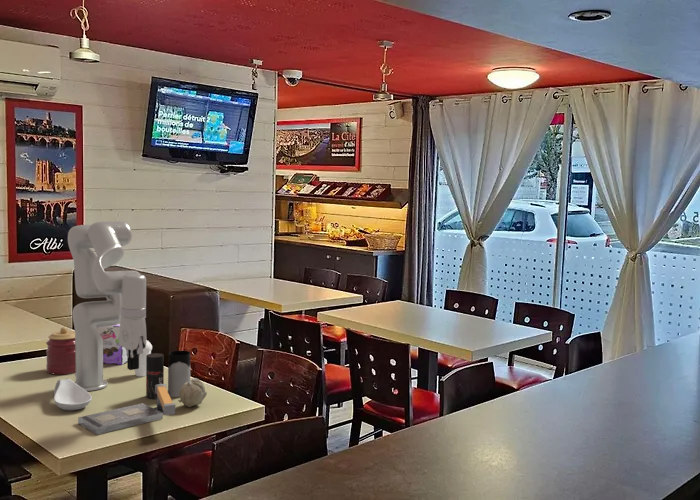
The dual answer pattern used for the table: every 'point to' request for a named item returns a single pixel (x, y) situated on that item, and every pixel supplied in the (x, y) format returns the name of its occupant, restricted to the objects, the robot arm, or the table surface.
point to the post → (159, 405)
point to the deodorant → (154, 373)
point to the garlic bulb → (192, 393)
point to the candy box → (112, 345)
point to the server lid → (119, 418)
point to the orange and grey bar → (165, 399)
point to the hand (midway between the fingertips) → (133, 368)
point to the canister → (61, 352)
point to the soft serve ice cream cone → (143, 360)
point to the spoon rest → (70, 395)
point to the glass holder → (178, 371)
